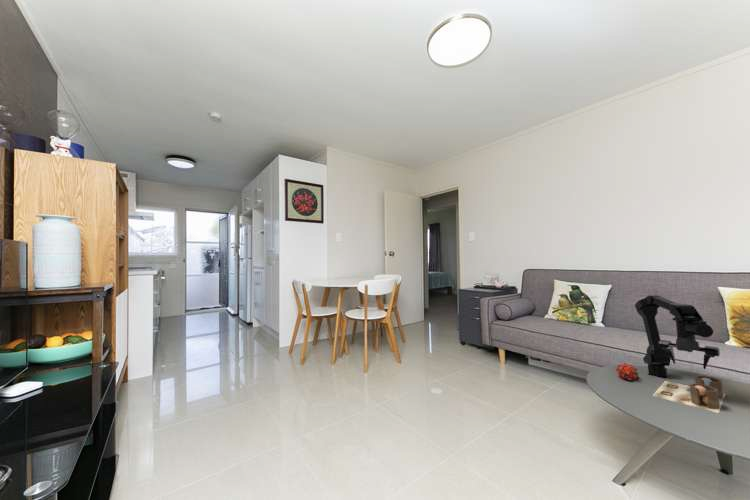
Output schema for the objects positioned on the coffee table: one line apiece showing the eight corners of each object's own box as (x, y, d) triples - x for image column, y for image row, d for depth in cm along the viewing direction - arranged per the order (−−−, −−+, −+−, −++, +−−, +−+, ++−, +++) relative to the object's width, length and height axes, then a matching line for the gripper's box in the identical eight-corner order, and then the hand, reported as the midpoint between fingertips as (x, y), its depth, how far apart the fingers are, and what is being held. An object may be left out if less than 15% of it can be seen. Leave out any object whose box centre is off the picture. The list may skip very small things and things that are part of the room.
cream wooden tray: (652, 396, 125) (650, 379, 126) (665, 381, 140) (663, 366, 141) (718, 414, 110) (716, 394, 110) (725, 395, 125) (723, 378, 125)
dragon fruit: (630, 378, 149) (630, 389, 140) (612, 366, 153) (611, 376, 145) (642, 368, 145) (642, 379, 136) (623, 356, 150) (623, 366, 141)
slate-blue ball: (705, 379, 127) (695, 379, 128) (712, 376, 124) (702, 376, 125) (711, 389, 125) (700, 388, 125) (718, 386, 122) (708, 385, 122)
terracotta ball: (707, 394, 117) (693, 391, 120) (707, 385, 117) (693, 382, 120) (707, 399, 115) (692, 395, 118) (707, 390, 115) (692, 386, 118)
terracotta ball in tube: (698, 401, 117) (704, 394, 116) (699, 398, 119) (705, 391, 118) (711, 409, 114) (717, 402, 113) (712, 406, 116) (719, 399, 115)
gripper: (653, 331, 132) (656, 364, 131) (715, 338, 116) (719, 376, 115) (659, 327, 138) (662, 359, 137) (718, 334, 123) (722, 370, 122)
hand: (689, 366), depth 128 cm, fingers open, 9 cm apart
